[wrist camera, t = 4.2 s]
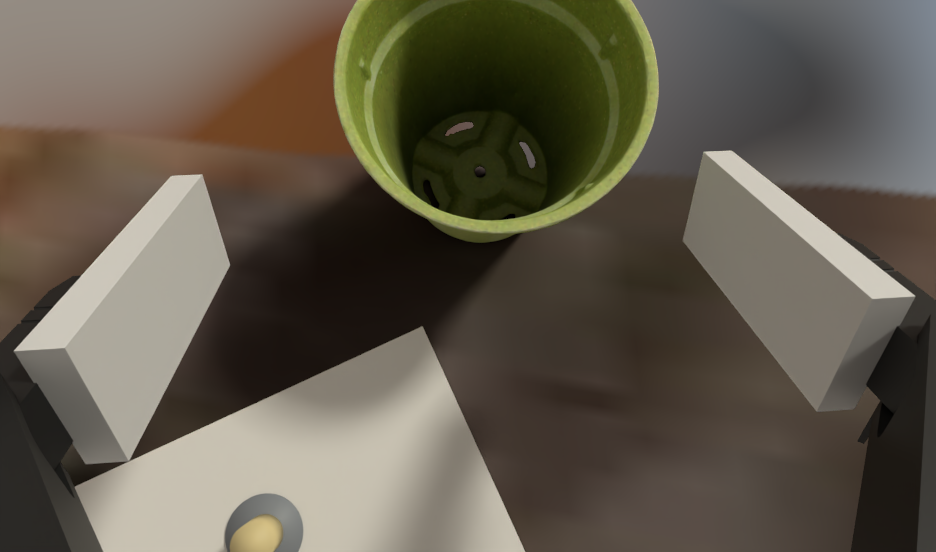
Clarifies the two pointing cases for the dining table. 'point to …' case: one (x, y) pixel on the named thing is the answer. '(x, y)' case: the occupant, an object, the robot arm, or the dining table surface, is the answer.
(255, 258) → the dining table surface
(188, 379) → the dining table surface
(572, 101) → the plant pot
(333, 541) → the pin board
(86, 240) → the dining table surface
